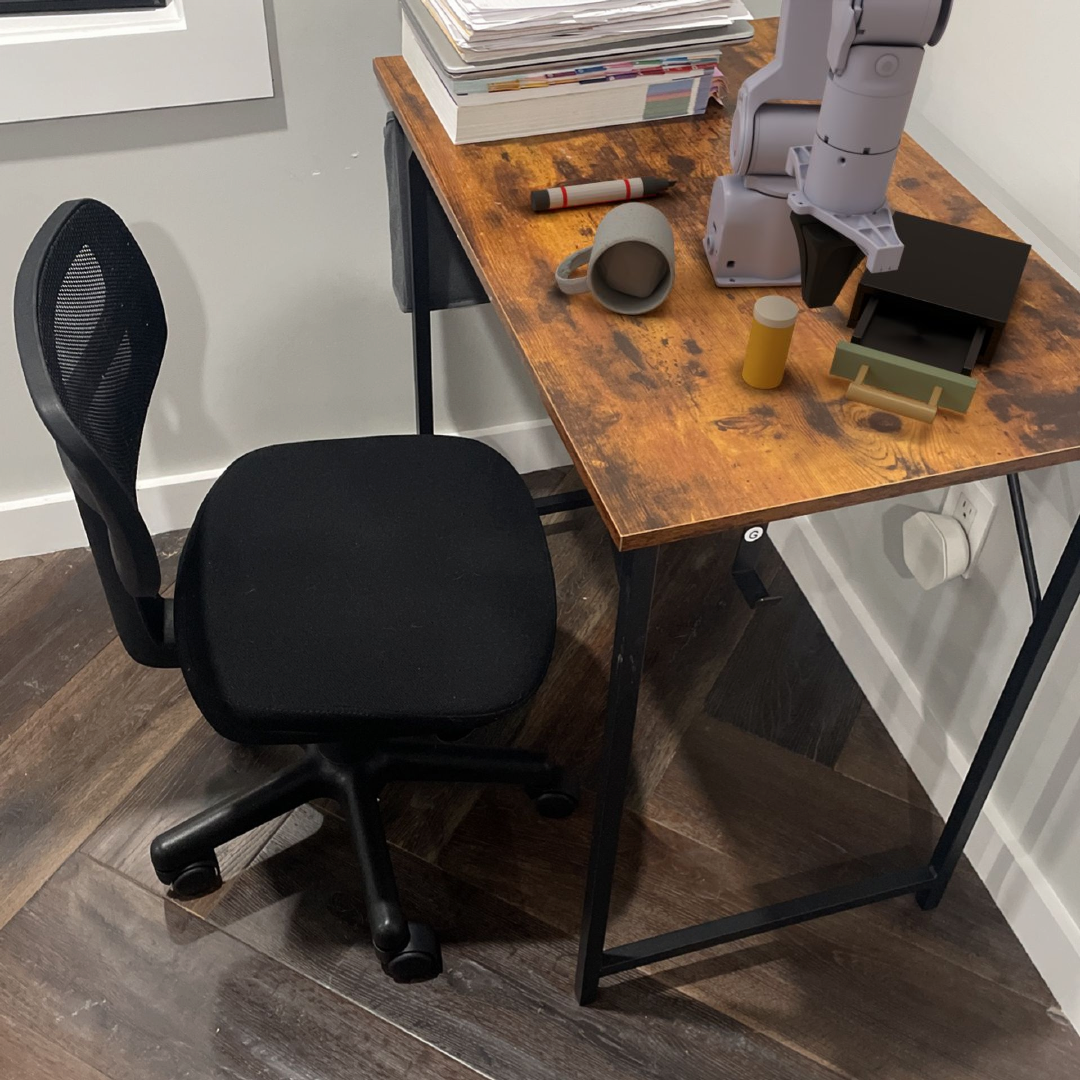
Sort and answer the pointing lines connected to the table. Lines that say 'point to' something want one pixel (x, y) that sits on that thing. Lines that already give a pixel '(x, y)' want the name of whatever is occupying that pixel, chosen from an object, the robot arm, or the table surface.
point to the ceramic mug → (625, 261)
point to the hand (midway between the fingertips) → (817, 302)
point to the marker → (598, 192)
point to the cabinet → (950, 276)
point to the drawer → (910, 359)
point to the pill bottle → (769, 341)
